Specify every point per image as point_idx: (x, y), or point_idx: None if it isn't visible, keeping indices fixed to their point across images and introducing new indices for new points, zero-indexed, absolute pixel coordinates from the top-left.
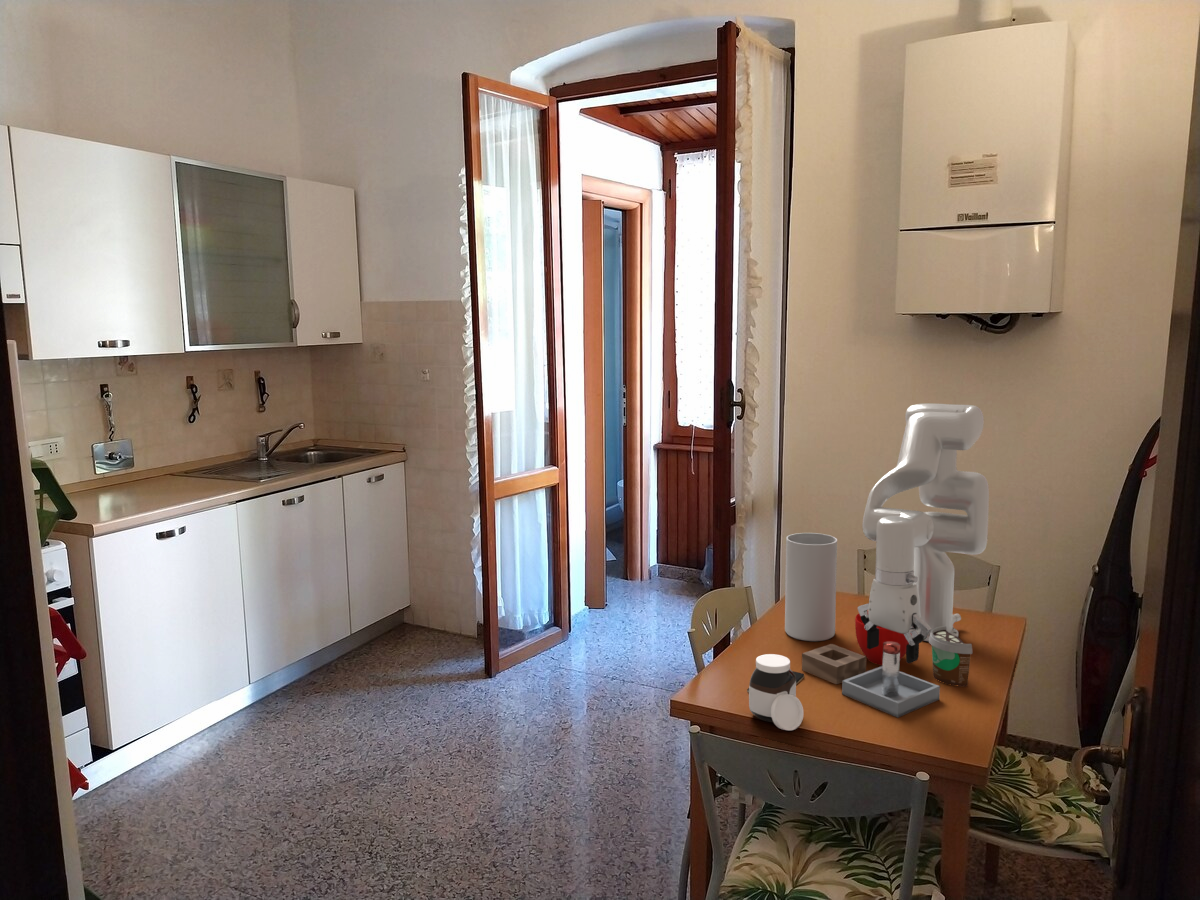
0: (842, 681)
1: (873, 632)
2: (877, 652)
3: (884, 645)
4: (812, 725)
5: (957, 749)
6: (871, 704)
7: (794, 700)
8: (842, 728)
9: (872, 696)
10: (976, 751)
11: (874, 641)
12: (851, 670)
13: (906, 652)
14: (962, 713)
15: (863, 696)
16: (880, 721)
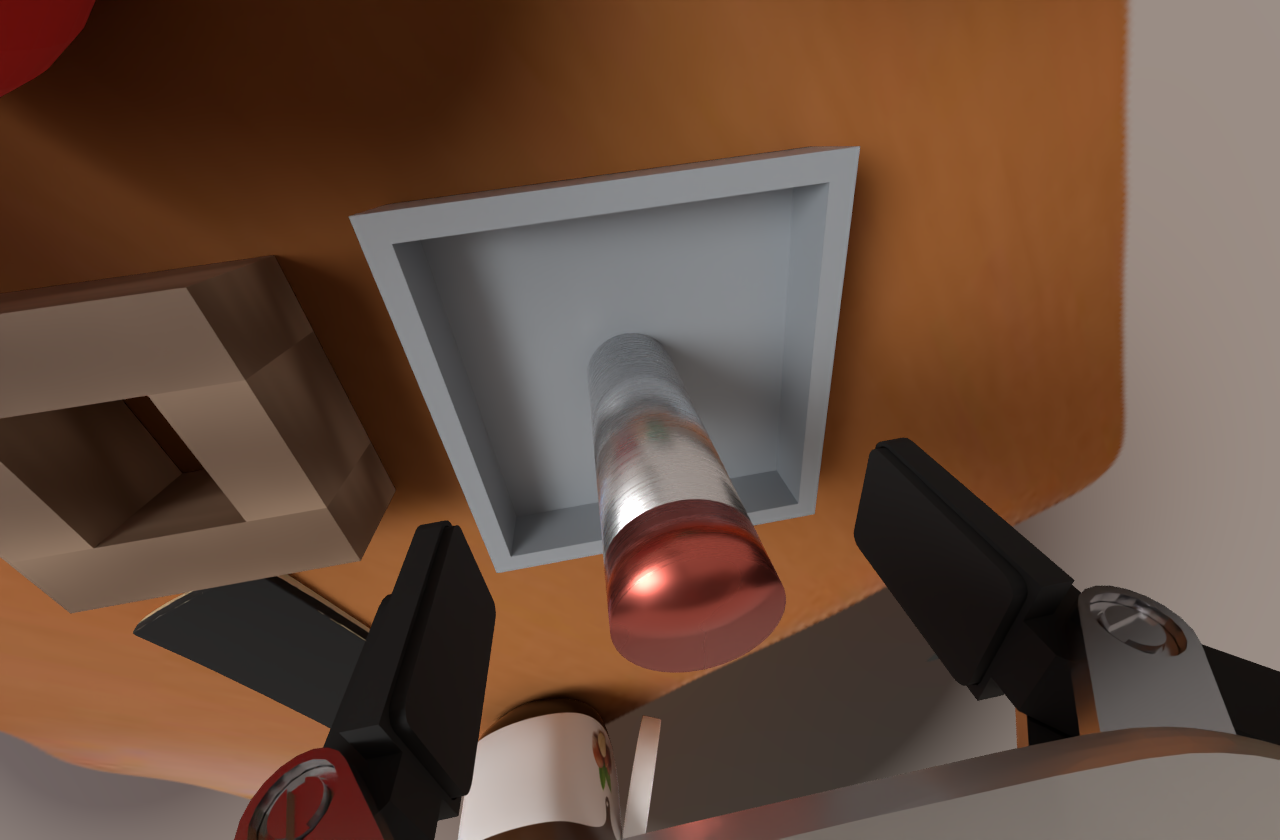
0: (498, 570)
1: (454, 759)
2: (36, 70)
3: (676, 671)
4: (659, 679)
5: (1043, 456)
6: None
7: (630, 787)
8: None
9: None
10: (1102, 416)
11: (467, 624)
12: (321, 418)
13: (912, 614)
14: (977, 184)
15: None
16: (763, 533)
